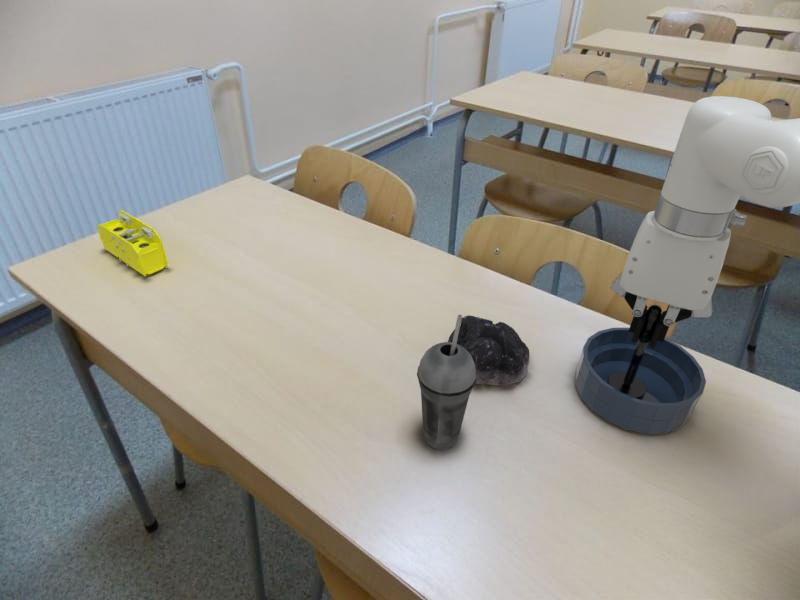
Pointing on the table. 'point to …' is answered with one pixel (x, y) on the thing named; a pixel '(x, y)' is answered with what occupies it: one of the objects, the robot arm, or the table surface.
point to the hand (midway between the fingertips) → (644, 338)
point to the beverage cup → (445, 390)
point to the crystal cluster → (493, 350)
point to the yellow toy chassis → (133, 243)
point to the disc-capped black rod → (637, 359)
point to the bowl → (659, 370)
